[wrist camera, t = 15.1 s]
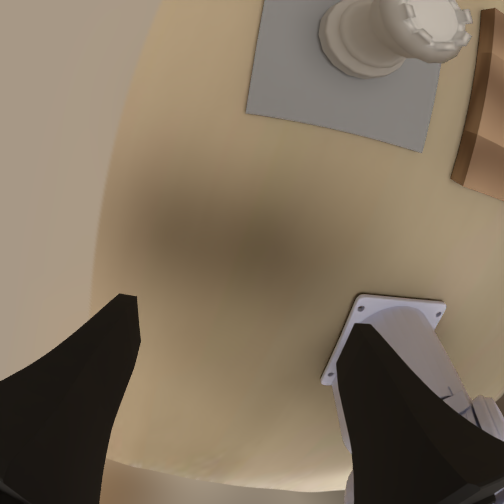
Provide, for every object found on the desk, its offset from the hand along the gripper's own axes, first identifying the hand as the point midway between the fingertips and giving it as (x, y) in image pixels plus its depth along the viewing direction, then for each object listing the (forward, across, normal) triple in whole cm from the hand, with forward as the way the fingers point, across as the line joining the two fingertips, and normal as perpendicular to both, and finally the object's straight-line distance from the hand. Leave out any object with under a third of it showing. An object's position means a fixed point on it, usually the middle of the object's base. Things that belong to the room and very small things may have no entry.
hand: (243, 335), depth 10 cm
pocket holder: (+9, -18, -11) cm, 23 cm away
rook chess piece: (+9, -4, -11) cm, 15 cm away
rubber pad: (+9, -4, -11) cm, 15 cm away
